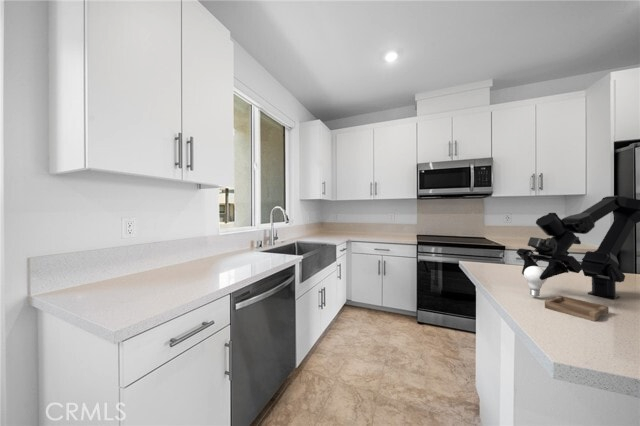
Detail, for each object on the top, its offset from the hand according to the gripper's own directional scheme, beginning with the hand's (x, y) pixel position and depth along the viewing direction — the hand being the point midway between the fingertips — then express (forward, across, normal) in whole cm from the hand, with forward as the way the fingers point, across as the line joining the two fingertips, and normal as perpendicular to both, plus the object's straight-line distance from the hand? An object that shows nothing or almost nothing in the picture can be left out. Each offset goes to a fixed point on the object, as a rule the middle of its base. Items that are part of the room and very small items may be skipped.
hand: (531, 276), depth 86 cm
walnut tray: (+3, +11, +8) cm, 14 cm away
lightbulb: (+4, 0, +6) cm, 8 cm away
